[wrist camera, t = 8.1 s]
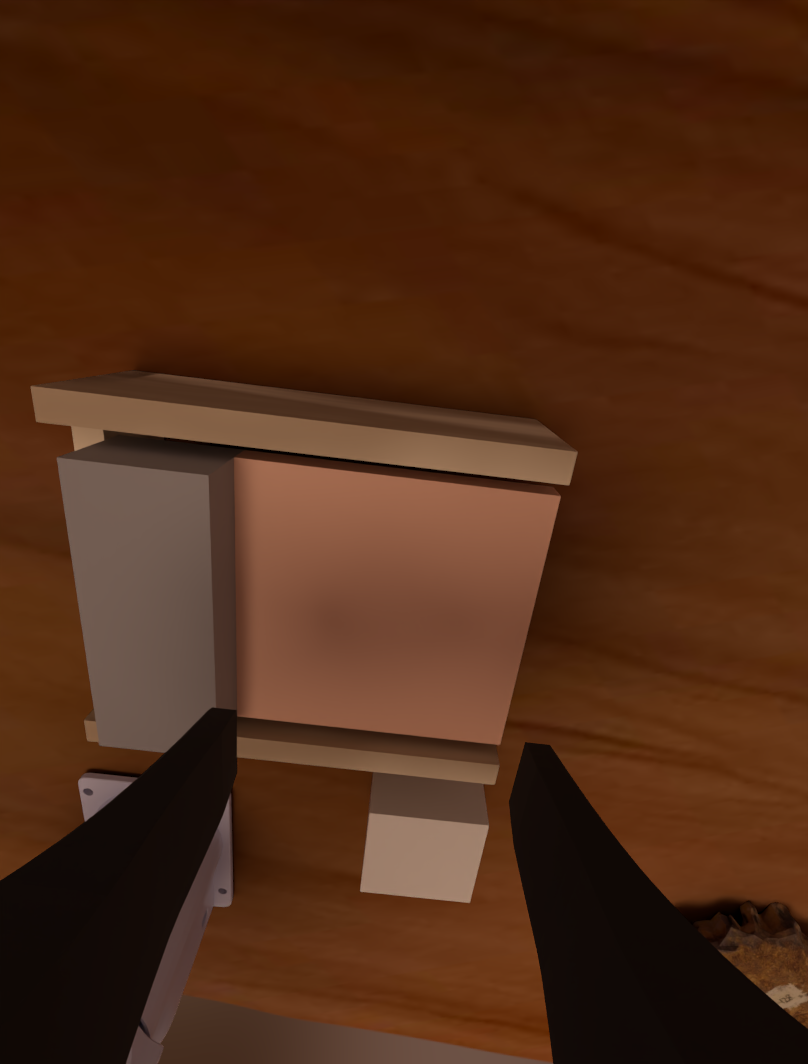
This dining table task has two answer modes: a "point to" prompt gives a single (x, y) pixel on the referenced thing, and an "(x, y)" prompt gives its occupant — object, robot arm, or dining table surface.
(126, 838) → the robot arm
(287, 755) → the frame
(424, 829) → the beige cube
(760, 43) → the dining table surface
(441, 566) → the trapdoor
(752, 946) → the decorative rock
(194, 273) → the dining table surface
